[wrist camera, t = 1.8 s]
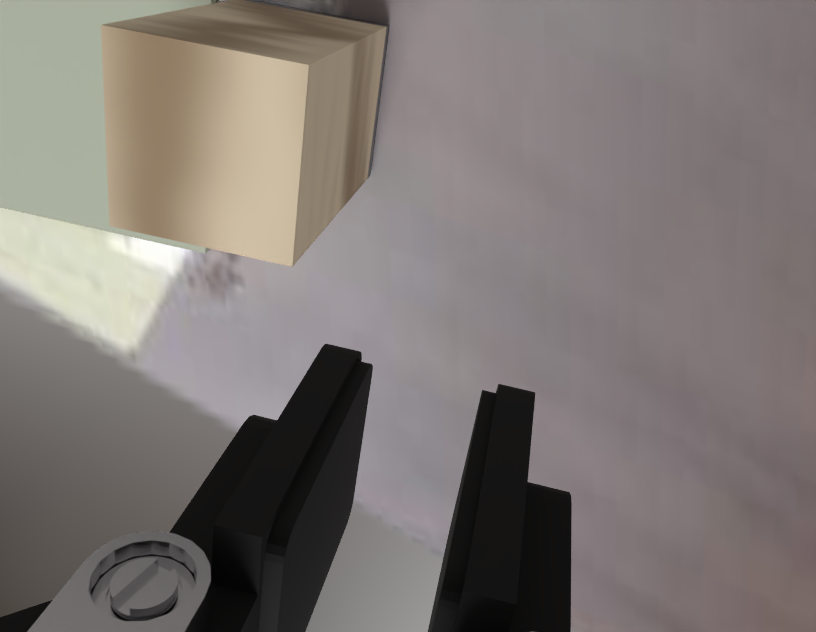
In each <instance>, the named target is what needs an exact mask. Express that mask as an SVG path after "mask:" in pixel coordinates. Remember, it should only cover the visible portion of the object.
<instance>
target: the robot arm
mask: <svg viewBox="0 0 816 632" xmlns="http://www.w3.org/2000/svg"><path fill="white" fill-rule="evenodd" d="M361 359H362V357H361V352H359V351H355V350H351V349H346V348H342V347H338V346H334V345H329V344H324V346H323V347H322V348H321V350H320V352H319V353H318V355H317V357H316V358H315V360H314V362H313V363H312V365H311V366H310V368H309V370H308V371H307V373H306V375H305V376H304V378H303V379H302V381H301V383H300V384H299V386H298V388H297V389H296V391H295V392H294V394H293V396H292V397H291V399H290V401H289V402H288V404H287V406H286V407H285V409H284V410H283V412H282V414H281V415H280V417H279V419H278V420H273V419H268V418H264V417H260V416H256V415H252V416H250V417H249V418H248V419H247V420H246V421H245V422H244V424H243V425H242V426H241V428H240V429H239V431H238V432H237V434H236V435H235V437H234V438H233V440H232V441H231V443H230V444H229V446H228V447H227V449H226V450H225V451H224V453H223V454H222V456H221V458H220V459H219V460H218V462H217V463H216V465H215V466H214V468H213V469H212V471H211V472H210V474H209V475H208V477H207V478H206V479H205V481H204V482H203V484H202V485H201V487H200V488H199V490H198V491H197V493H196V494H195V496H194V498H193V499H192V500H191V502H190V503H189V505H188V506H187V508H186V509H185V511H184V512H183V513H182V515H181V516H180V518H179V519H178V521H177V522H176V524H175V525H174V527H173V528H172V530H171V531H170V532H169V533H167V532H160V531H148V532H136V533H133V534H129V535H126V536H122V537H119V538H116V539H114V540H112V541H111V542H109V543H107V544H105V545H104V546H102V547H100V548H98V549H97V550H96V551H95V552H94V553H93V554H92V555H91V556H90V557H89V558H88V559H87V560H85V561H84V563H83V564H82V565H81V566H80V568H79V569H78V570H77V571H76V572H75V574H74V575H73V576H72V577H71V579H70V580H69V581H68V582H67V583H66V585H65V586H64V587H63V588H62V590H61V591H60V592H59V593H58V595H57V596H56V597H55V598H54V599H53V600H51V601H48V602H45V603H42V604H39V605H36V606H33V607H30V608H28V609H24V610H21V611H18V612H15V613H12V614H10V615H6V616H3V617H0V632H305V631H306V628H307V626H308V623H309V620H310V618H311V615H312V613H313V610H314V607H315V605H316V602H317V600H318V597H319V595H320V592H321V590H322V587H323V584H324V582H325V579H326V577H327V574H328V572H329V569H330V566H331V564H332V561H333V559H334V556H335V553H336V551H337V548H338V546H339V543H340V540H341V538H342V535H343V533H344V530H345V528H346V525H347V522H348V519H349V516H350V512H351V508H352V504H353V498H354V492H355V485H356V478H357V471H358V465H359V458H360V451H361V444H362V438H363V431H364V424H365V418H366V411H367V404H368V397H369V391H370V384H371V377H372V369H373V366H372V364H369V363H364V362H361ZM534 401H535V392H531V391H527V390H522V389H518V388H514V387H510V386H505V385H501V384H499V385H498V388H497V391H496V393H492V392H488V391H484V390H482V394H481V398H480V402H479V406H478V411H477V415H476V419H475V423H474V428H473V432H472V436H471V441H470V445H469V449H468V453H467V458H466V462H465V466H464V471H463V475H462V479H461V483H460V488H459V492H458V496H457V501H456V505H455V509H454V513H453V518H452V522H451V526H450V531H449V535H448V540H447V544H446V549H445V553H444V558H443V563H442V568H441V572H440V577H439V582H438V587H437V591H436V596H435V601H434V605H433V610H432V615H431V620H430V624H429V629H428V632H570V627H571V495H570V493H569V492H566V491H562V490H558V489H553V488H549V487H545V486H541V485H537V484H533V483H529V482H527V480H528V469H529V458H530V446H531V435H532V424H533V412H534Z"/></svg>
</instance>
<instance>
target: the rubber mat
mask: <svg viewBox="0 0 816 632" xmlns="http://www.w3.org/2000/svg"><path fill="white" fill-rule="evenodd" d="M212 3H216V0H0V207H1V208H5V209H10V210H14V211H19V212H23V213H28V214H32V215H37V216H41V217H46V218H50V219H55V220H59V221H64V222H68V223H72V224H77V225H81V226H86V227H90V228H95V229H99V230H104V231H108V232H113V233H117V234H122V235H126V236H131V237H135V238H140V239H144V240H148V241H153V242H157V243H162V244H166V245H171V246H175V247H180V248H184V249H189V250H193V251H198V252H202V253H206V252H207V251H209V250H210V248H205V247H201V246H196V245H192V244H187V243H183V242H179V241H174V240H170V239H165V238H161V237H156V236H152V235H147V234H143V233H138V232H134V231H129V230H125V229H120V228H116V227H111V226H109V203H108V179H107V156H106V132H105V109H104V85H103V62H102V38H101V25H103V24H108V23H113V22H118V21H123V20H129V19H134V18H139V17H144V16H150V15H155V14H160V13H165V12H170V11H176V10H181V9H186V8H191V7H197V6H202V5H207V4H212Z"/></svg>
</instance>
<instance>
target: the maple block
mask: <svg viewBox="0 0 816 632" xmlns="http://www.w3.org/2000/svg"><path fill="white" fill-rule="evenodd" d="M388 33H389V25H384V24H379V23H373V22H368V21H363V20H357V19H352V18H346V17H341V16H336V15H330V14H325V13H320V12H314V11H309V10H303V9H298V8H293V7H287V6H282V5H276V4H271V3H266V2H260V1H255V0H228V1H223V2H218V3H212V4H207V5H202V6H197V7H191V8H186V9H181V10H176V11H170V12H165V13H160V14H155V15H150V16H144V17H139V18H134V19H129V20H123V21H118V22H113V23H108V24H103V25H101V38H102V62H103V85H104V109H105V132H106V156H107V179H108V203H109V226H111V227H116V228H120V229H125V230H129V231H134V232H138V233H143V234H147V235H152V236H156V237H161V238H165V239H170V240H174V241H179V242H183V243H187V244H192V245H196V246H201V247H205V248H210V249H214V250H219V251H223V252H228V253H232V254H237V255H241V256H246V257H250V258H255V259H259V260H264V261H268V262H273V263H277V264H282V265H286V266H291V267H293V265H294V264H295V263H296V262H297V261H298V260H299V258H300V257H301V256H302V255H303V254H304V252H305V251H306V250H307V249H308V248H309V247H310V245H311V244H312V243H313V242H314V241H315V240H316V238H317V237H318V236H319V235H320V234H321V233H322V231H323V230H324V229H325V228H326V227H327V225H328V224H329V223H330V222H331V221H332V220H333V218H334V217H335V216H336V215H337V214H338V213H339V211H340V210H341V209H342V208H343V207H344V206H345V204H346V203H347V202H348V201H349V200H350V199H351V197H352V196H353V195H354V194H355V193H356V191H357V190H358V189H359V188H360V187H361V186H362V184H363V183H364V182H365V181H366V180H367V179H368V177H369V176H370V173H371V166H372V158H373V150H374V142H375V134H376V127H377V119H378V111H379V103H380V95H381V88H382V80H383V72H384V64H385V56H386V49H387V41H388Z"/></svg>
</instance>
